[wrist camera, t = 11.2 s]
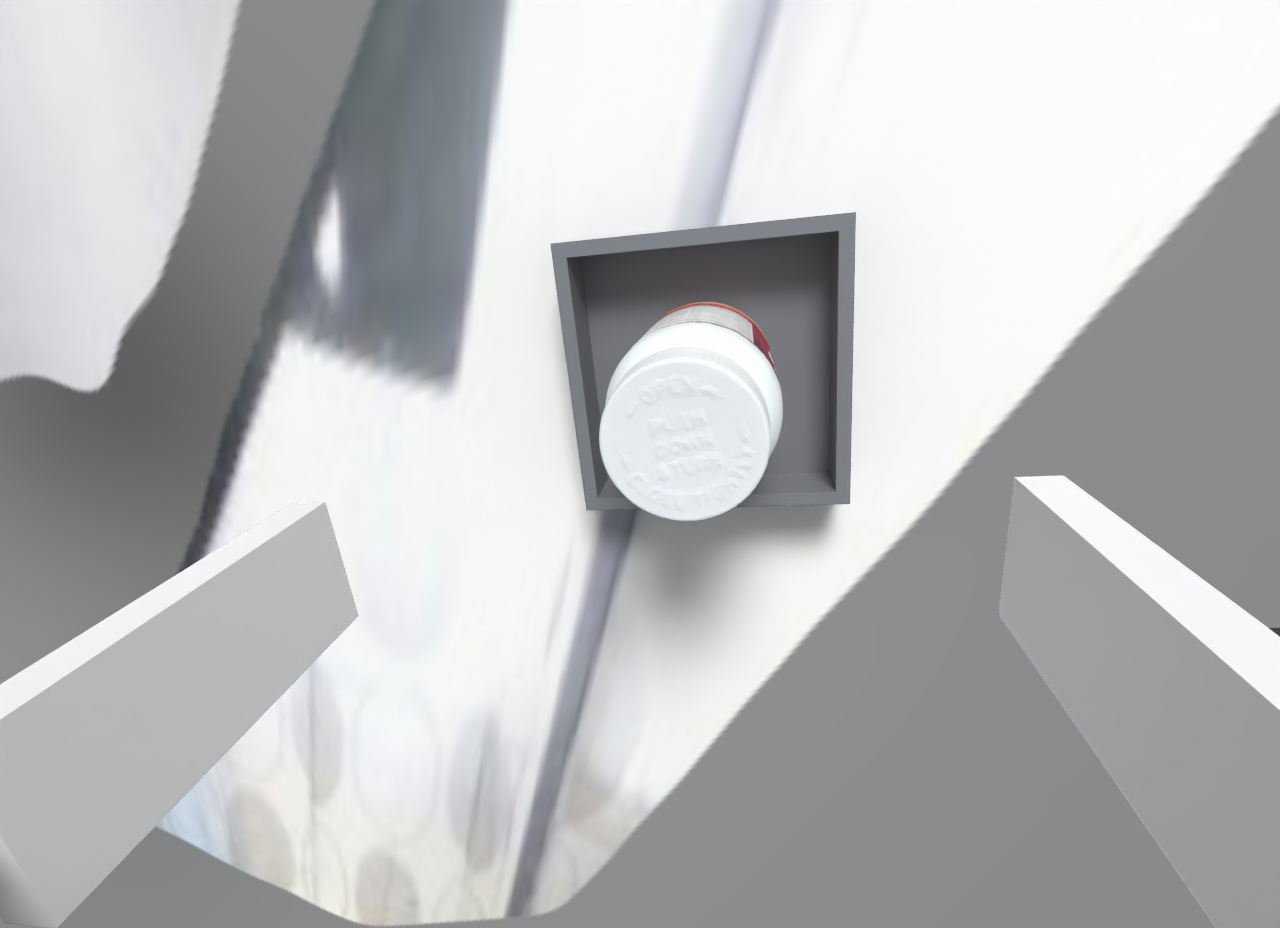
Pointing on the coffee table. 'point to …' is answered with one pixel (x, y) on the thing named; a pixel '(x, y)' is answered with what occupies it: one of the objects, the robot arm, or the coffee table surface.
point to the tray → (750, 282)
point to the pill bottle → (692, 414)
